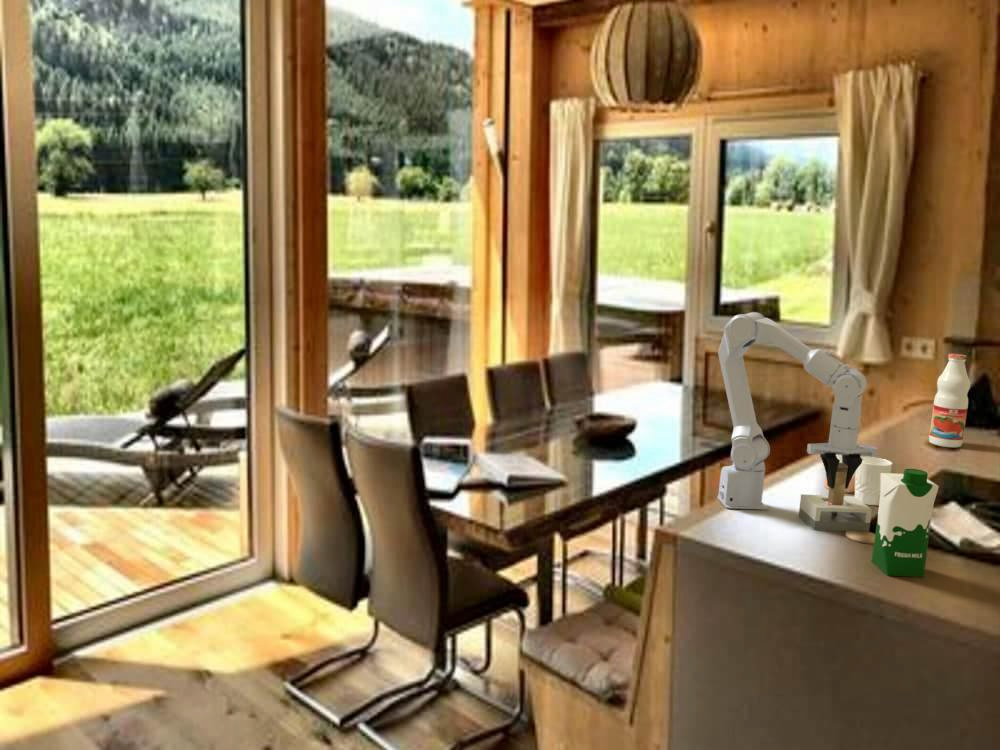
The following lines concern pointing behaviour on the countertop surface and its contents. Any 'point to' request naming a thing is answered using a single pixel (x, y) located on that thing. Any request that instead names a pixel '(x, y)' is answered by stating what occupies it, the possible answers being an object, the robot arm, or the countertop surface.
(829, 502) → the button
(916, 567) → the milk carton
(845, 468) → the stick
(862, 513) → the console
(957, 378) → the fruit juice
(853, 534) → the coaster
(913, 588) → the countertop surface
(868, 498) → the white cup
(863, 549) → the countertop surface
